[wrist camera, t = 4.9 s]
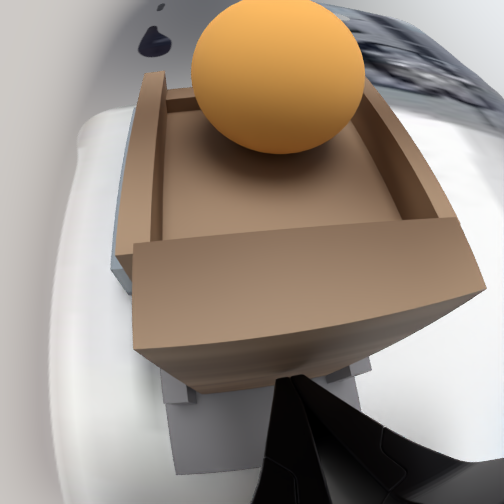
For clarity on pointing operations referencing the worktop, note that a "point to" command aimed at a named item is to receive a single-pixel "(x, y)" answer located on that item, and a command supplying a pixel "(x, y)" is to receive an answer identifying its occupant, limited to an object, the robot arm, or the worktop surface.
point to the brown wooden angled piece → (281, 245)
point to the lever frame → (233, 421)
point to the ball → (278, 75)
